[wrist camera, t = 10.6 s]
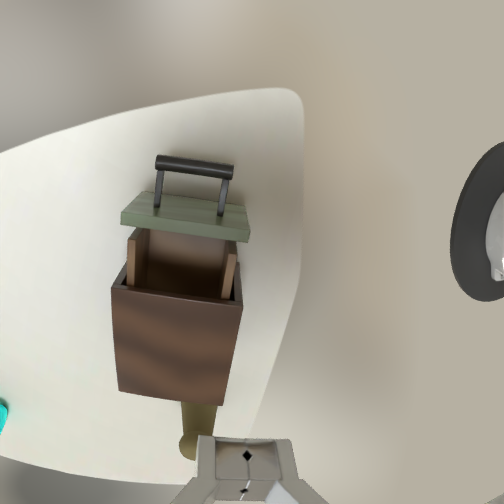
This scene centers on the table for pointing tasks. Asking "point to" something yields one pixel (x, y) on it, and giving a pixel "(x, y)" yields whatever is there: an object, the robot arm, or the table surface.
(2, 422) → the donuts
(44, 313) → the table surface
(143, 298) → the cabinet
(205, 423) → the cork
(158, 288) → the drawer
